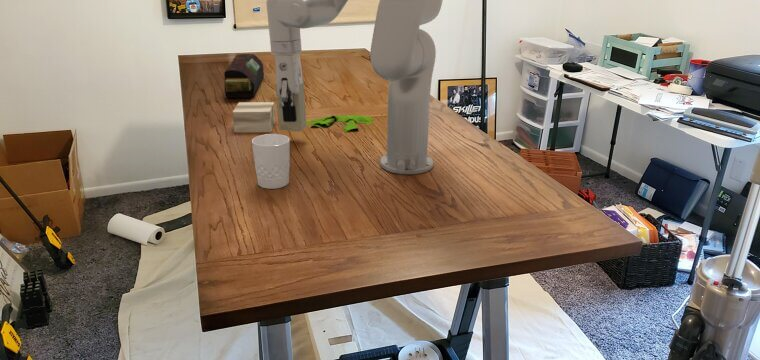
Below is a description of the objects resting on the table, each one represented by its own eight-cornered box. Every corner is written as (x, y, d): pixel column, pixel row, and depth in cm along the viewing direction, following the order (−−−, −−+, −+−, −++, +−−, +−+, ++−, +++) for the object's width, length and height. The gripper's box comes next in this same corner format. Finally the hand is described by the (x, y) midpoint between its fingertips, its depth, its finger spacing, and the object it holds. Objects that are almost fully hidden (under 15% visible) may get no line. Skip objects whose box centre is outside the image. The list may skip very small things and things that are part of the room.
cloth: (382, 119, 170) (382, 112, 169) (360, 142, 150) (360, 134, 149) (318, 113, 175) (318, 105, 174) (289, 134, 155) (289, 126, 154)
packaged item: (253, 102, 183) (251, 72, 179) (222, 103, 182) (219, 72, 178) (265, 76, 219) (264, 50, 215) (240, 76, 218) (238, 50, 214)
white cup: (275, 173, 128) (272, 131, 124) (299, 182, 124) (297, 139, 120) (247, 183, 122) (244, 140, 119) (271, 193, 118) (268, 148, 114)
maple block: (271, 132, 155) (269, 111, 153) (234, 133, 155) (232, 112, 152) (275, 122, 164) (274, 102, 162) (240, 122, 164) (238, 102, 161)
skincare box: (278, 130, 146) (274, 84, 141) (285, 125, 150) (281, 80, 145) (301, 132, 144) (297, 85, 139) (307, 126, 148) (304, 81, 143)
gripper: (294, 52, 131) (300, 127, 138) (306, 41, 147) (311, 109, 153) (262, 53, 131) (270, 127, 138) (278, 42, 147) (284, 109, 154)
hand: (292, 117), depth 146 cm, fingers closed on skincare box, 5 cm apart
